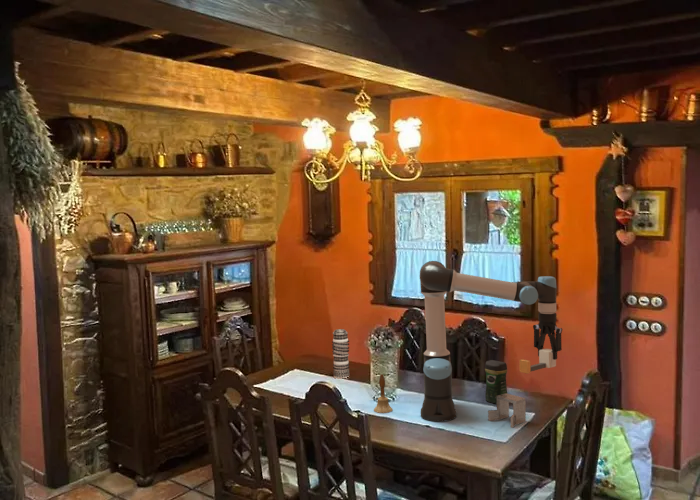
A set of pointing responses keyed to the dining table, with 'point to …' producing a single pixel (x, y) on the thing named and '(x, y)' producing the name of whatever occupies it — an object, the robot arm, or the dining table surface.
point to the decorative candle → (340, 354)
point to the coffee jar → (495, 380)
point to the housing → (503, 409)
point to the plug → (543, 362)
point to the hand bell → (382, 399)
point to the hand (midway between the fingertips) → (547, 365)
